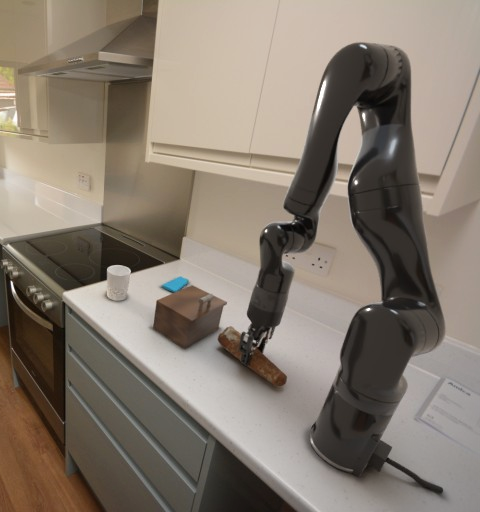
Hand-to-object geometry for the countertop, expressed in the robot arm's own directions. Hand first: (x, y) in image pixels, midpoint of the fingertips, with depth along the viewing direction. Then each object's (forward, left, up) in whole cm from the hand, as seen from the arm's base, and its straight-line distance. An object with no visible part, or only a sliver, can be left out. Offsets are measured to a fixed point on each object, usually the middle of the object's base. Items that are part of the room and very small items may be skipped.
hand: (251, 358), depth 87 cm
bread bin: (+20, +1, -2) cm, 20 cm away
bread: (0, 0, -2) cm, 2 cm away
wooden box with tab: (+19, +1, +7) cm, 21 cm away
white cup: (+46, +5, -2) cm, 46 cm away
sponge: (+39, -19, -2) cm, 43 cm away
